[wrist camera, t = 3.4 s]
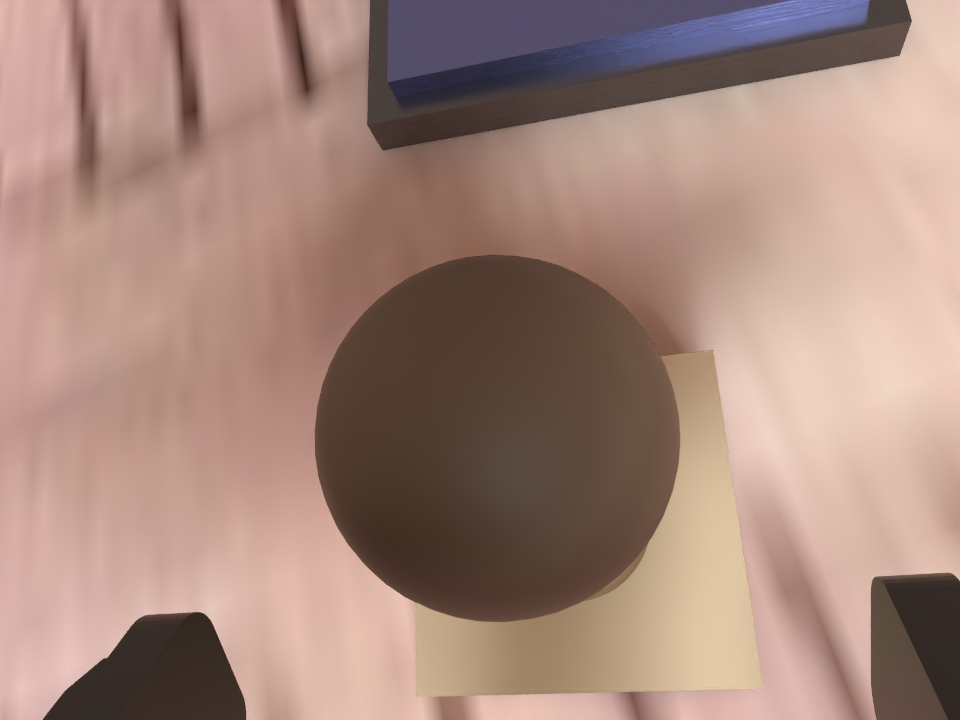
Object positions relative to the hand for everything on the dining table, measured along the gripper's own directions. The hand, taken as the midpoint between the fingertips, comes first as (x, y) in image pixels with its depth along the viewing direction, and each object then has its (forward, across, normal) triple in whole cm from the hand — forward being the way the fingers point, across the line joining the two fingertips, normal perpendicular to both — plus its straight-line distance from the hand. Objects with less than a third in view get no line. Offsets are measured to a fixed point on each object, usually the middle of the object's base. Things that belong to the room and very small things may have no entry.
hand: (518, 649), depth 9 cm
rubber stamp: (+8, 0, +4) cm, 9 cm away
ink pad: (+20, -2, -8) cm, 21 cm away
